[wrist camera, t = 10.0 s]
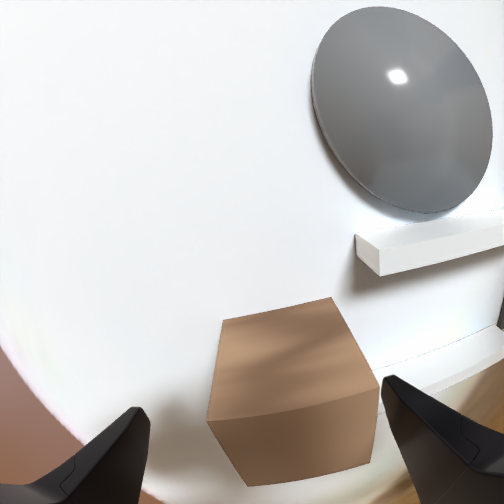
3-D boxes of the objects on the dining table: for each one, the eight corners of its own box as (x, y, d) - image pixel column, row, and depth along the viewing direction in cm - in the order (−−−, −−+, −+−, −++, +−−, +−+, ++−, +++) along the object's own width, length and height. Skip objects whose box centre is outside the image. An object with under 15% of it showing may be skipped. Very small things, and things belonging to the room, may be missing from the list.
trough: (510, 207, 11) (538, 216, 8) (490, 335, 13) (510, 353, 11) (355, 233, 11) (379, 249, 9) (355, 386, 14) (368, 417, 12)
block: (330, 296, 12) (380, 386, 7) (338, 374, 14) (369, 462, 8) (223, 319, 13) (206, 421, 7) (248, 393, 14) (247, 486, 8)
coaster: (459, 30, 8) (465, 27, 7) (492, 201, 11) (499, 203, 10) (288, 7, 8) (290, 0, 8) (331, 224, 11) (336, 228, 11)
